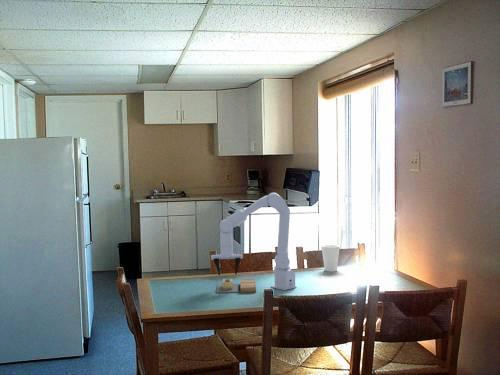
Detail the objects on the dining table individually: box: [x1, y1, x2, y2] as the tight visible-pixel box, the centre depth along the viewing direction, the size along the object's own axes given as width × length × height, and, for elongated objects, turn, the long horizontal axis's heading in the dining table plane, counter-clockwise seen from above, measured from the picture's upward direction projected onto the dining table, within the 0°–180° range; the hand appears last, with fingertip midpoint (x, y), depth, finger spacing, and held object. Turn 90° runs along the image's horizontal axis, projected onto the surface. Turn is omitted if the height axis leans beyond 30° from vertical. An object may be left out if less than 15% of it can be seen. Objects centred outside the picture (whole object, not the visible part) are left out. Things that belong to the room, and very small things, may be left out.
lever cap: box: [222, 277, 234, 290], centre depth 272 cm, size 7×4×4 cm, turn 2°
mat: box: [215, 283, 240, 294], centre depth 272 cm, size 16×10×1 cm, turn 1°
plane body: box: [239, 278, 257, 294], centre depth 272 cm, size 18×7×2 cm, turn 1°
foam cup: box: [320, 243, 341, 272], centre depth 309 cm, size 10×9×13 cm
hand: (227, 274), depth 272 cm, fingers open, 7 cm apart
